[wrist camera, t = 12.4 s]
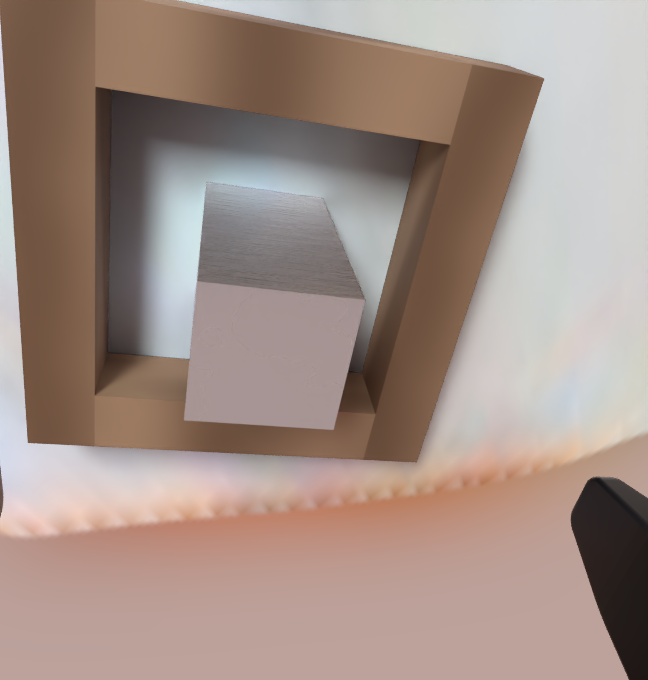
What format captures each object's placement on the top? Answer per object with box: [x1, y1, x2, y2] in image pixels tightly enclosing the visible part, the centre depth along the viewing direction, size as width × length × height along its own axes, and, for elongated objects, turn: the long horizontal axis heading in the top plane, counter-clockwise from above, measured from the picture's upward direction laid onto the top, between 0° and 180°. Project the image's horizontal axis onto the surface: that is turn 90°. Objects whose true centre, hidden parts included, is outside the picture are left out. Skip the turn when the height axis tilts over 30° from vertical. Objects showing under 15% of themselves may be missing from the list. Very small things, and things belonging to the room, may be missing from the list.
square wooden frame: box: [0, 0, 544, 462], centre depth 19 cm, size 13×13×2 cm
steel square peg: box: [184, 182, 365, 430], centre depth 17 cm, size 4×4×7 cm
